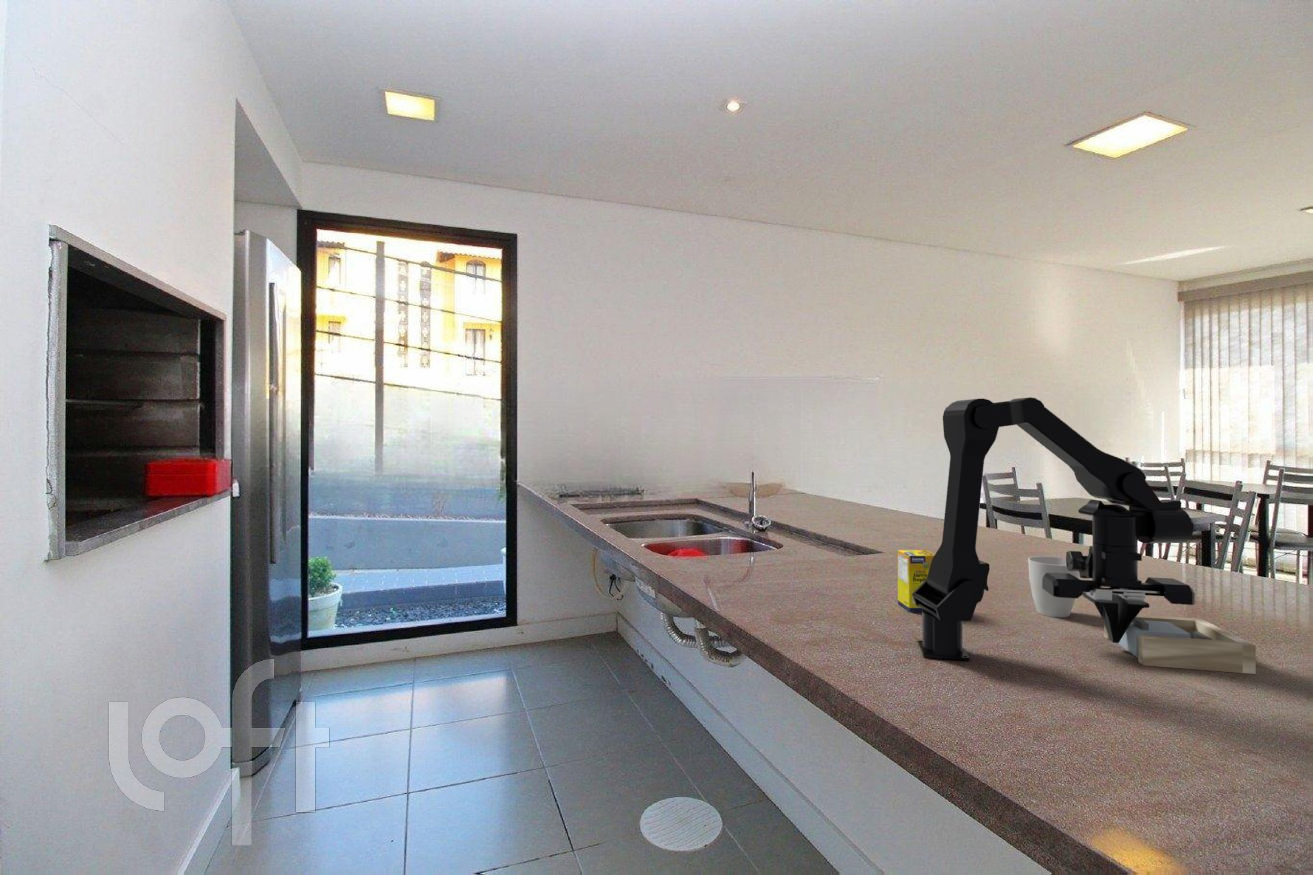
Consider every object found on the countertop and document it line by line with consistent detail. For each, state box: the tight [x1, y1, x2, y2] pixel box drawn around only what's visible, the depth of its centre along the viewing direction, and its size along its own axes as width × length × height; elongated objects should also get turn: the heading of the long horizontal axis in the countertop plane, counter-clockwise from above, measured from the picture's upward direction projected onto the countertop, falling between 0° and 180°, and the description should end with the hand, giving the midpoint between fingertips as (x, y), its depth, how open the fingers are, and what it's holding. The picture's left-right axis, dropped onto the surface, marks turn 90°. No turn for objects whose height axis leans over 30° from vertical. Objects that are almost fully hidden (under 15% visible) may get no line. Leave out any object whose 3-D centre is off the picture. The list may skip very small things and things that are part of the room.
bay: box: [1103, 614, 1257, 675], centre depth 94 cm, size 13×14×4 cm
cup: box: [1027, 555, 1079, 618], centre depth 115 cm, size 8×8×10 cm
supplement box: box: [897, 549, 936, 613], centre depth 120 cm, size 6×6×11 cm
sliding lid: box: [1117, 617, 1191, 658], centre depth 95 cm, size 6×7×5 cm
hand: (1114, 642), depth 96 cm, fingers closed
